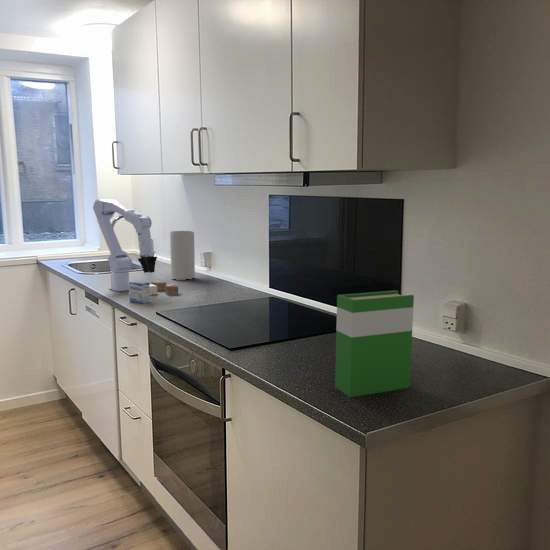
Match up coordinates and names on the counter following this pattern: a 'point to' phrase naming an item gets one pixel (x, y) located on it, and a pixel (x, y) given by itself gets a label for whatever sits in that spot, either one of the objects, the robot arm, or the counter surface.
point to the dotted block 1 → (159, 285)
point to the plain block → (153, 289)
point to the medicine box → (139, 292)
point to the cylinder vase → (182, 255)
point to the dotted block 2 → (171, 289)
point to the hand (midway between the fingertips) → (149, 272)
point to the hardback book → (373, 342)
